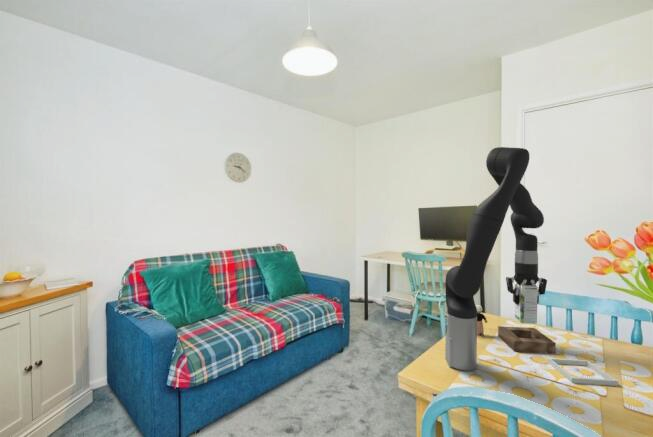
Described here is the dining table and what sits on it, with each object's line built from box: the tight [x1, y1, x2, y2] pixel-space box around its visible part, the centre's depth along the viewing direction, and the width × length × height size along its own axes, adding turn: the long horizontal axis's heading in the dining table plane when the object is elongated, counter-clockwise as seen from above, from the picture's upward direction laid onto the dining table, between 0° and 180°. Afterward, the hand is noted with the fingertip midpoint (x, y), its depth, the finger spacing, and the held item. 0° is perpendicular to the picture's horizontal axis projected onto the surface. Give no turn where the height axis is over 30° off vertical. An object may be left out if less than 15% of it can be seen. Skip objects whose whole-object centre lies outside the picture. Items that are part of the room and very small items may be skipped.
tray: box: [547, 357, 619, 387], centre depth 96 cm, size 12×12×2 cm
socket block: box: [497, 325, 557, 355], centre depth 117 cm, size 14×14×4 cm
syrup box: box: [514, 282, 539, 324], centre depth 116 cm, size 6×6×14 cm
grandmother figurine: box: [475, 304, 488, 337], centre depth 126 cm, size 8×4×13 cm, turn 108°
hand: (525, 304), depth 116 cm, fingers closed on syrup box, 6 cm apart
